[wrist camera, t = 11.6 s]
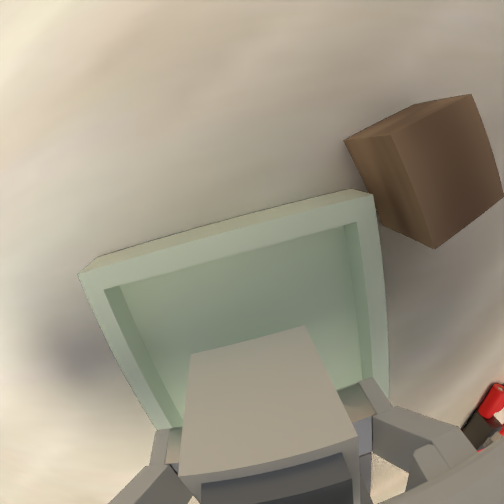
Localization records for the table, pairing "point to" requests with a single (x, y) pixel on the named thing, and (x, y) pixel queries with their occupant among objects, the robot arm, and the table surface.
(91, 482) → the table surface
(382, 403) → the robot arm
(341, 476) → the block
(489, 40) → the table surface
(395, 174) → the walnut block
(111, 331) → the tray
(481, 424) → the tow hook
